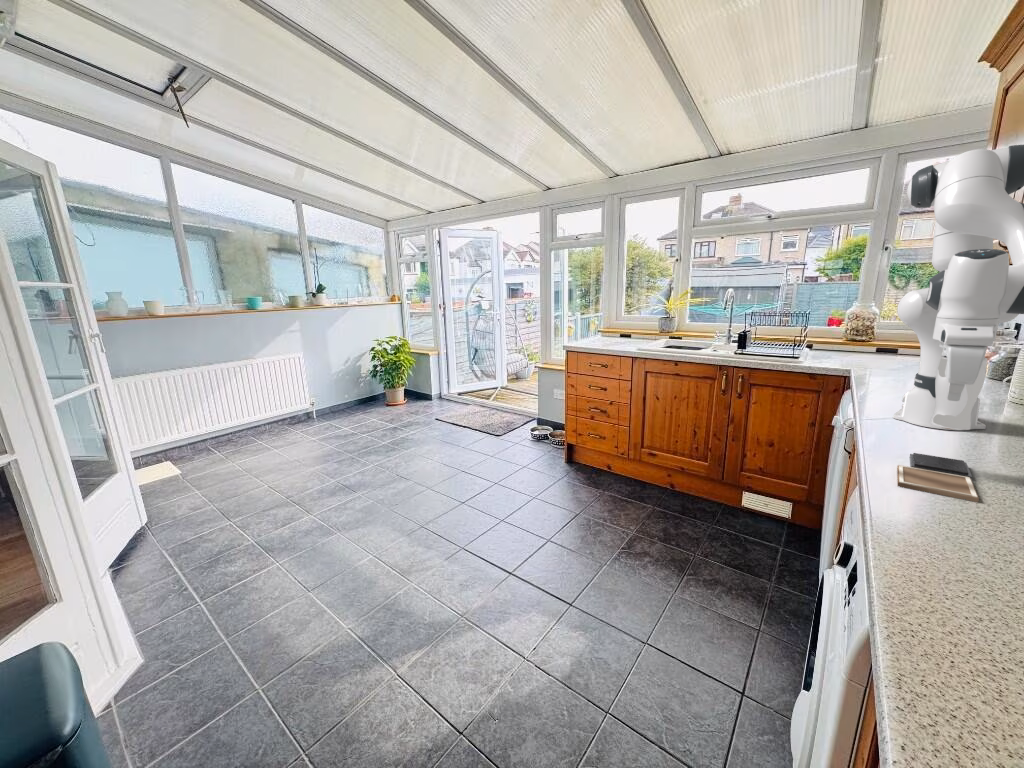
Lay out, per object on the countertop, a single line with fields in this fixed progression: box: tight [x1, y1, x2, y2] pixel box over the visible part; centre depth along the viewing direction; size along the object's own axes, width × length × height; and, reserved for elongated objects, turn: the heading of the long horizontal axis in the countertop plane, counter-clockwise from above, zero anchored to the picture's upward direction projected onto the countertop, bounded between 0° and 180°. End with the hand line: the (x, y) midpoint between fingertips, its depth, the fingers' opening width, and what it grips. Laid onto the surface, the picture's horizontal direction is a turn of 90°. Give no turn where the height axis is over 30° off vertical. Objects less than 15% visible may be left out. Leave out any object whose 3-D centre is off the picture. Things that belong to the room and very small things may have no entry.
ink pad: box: [909, 452, 973, 480], centre depth 91 cm, size 9×9×2 cm
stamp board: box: [896, 464, 980, 503], centre depth 84 cm, size 11×11×1 cm
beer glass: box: [930, 355, 988, 431], centre depth 87 cm, size 7×7×15 cm
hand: (951, 396), depth 88 cm, fingers closed on beer glass, 6 cm apart
